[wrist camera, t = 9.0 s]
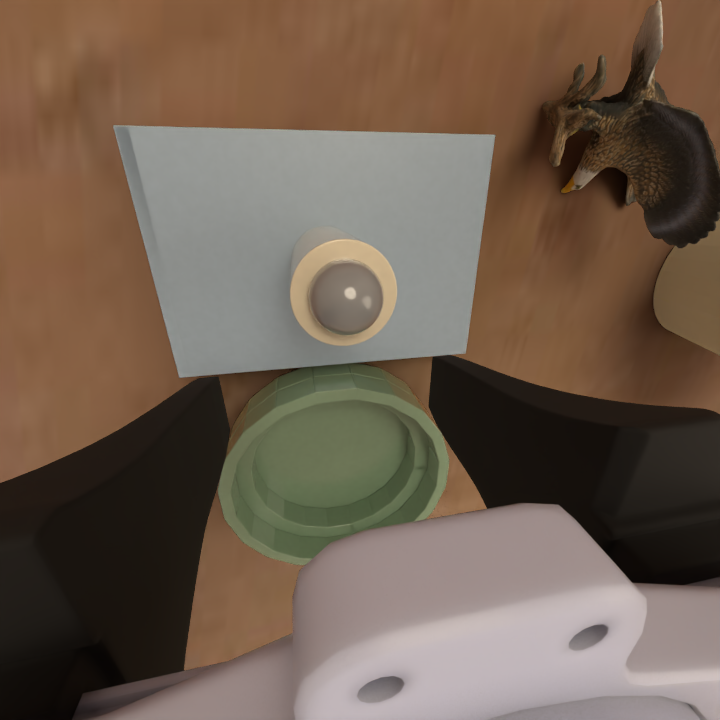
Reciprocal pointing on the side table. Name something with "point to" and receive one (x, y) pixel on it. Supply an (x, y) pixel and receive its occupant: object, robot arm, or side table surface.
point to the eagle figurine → (644, 143)
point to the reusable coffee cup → (692, 292)
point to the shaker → (340, 286)
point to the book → (290, 221)
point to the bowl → (329, 460)
